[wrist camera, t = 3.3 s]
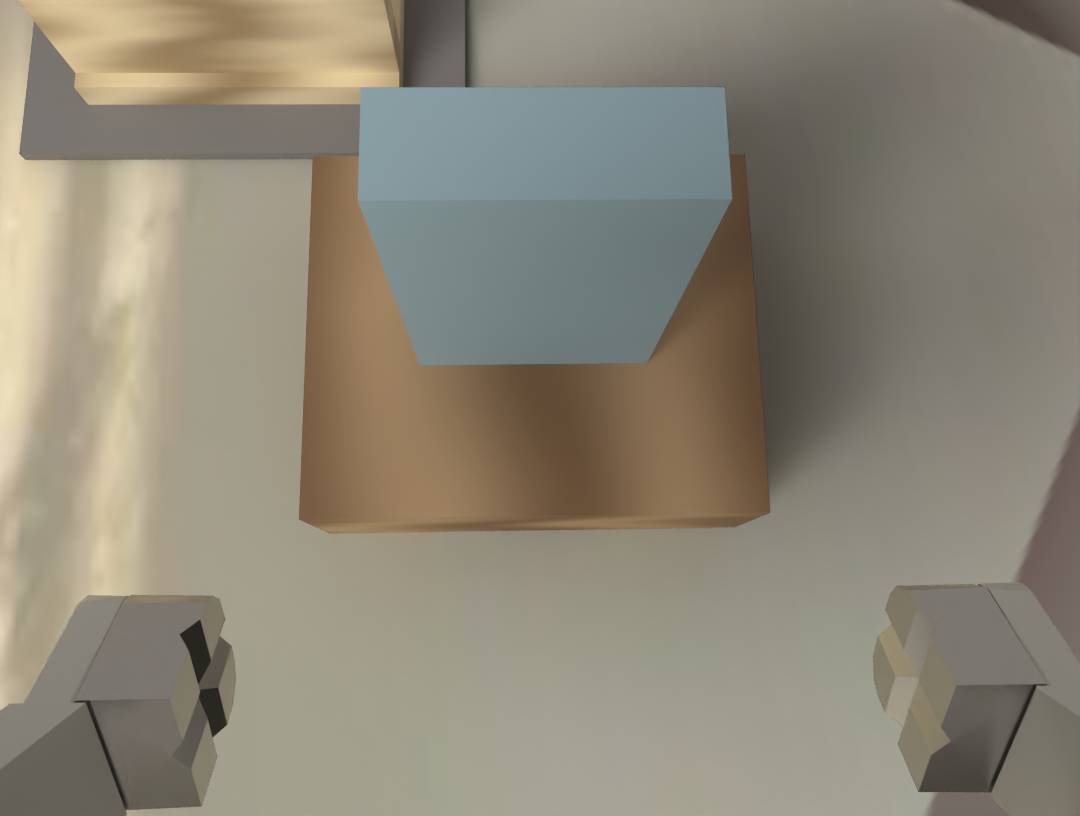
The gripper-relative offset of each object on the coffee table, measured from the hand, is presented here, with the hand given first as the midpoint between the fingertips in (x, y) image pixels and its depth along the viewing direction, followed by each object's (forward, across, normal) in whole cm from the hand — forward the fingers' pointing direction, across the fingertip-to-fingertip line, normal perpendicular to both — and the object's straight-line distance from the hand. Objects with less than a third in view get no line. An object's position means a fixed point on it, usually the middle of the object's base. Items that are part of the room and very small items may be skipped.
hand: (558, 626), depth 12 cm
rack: (+25, +9, -2) cm, 27 cm away
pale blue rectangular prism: (+14, 0, +3) cm, 14 cm away
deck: (+17, 0, +6) cm, 18 cm away
